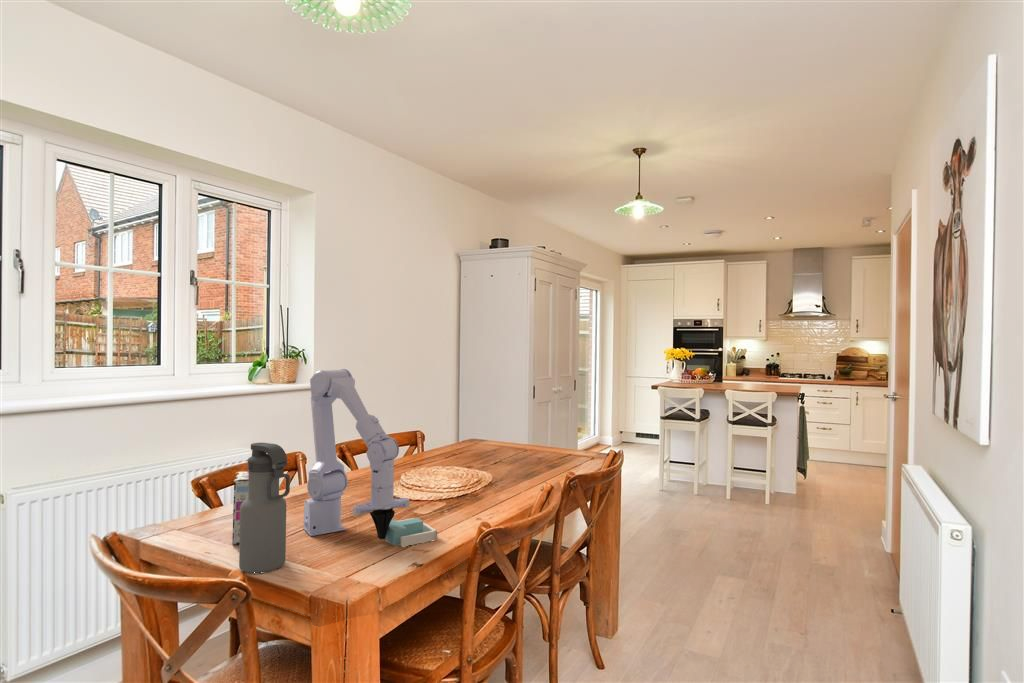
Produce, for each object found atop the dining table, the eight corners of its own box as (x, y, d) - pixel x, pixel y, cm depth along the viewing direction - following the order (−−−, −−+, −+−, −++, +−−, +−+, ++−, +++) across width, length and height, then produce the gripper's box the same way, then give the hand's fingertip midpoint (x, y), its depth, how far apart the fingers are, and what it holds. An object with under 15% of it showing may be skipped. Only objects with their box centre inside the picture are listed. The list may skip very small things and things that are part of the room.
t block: (393, 546, 145) (394, 530, 145) (380, 536, 152) (380, 521, 152) (427, 539, 150) (427, 524, 150) (413, 529, 157) (413, 515, 157)
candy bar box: (253, 543, 145) (254, 479, 145) (231, 545, 143) (232, 480, 143) (256, 529, 156) (257, 469, 156) (236, 531, 154) (237, 471, 154)
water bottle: (296, 562, 133) (297, 443, 133) (262, 578, 124) (264, 450, 124) (263, 555, 137) (265, 439, 137) (229, 570, 128) (231, 446, 128)
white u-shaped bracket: (401, 547, 144) (401, 537, 144) (381, 532, 154) (382, 523, 154) (437, 540, 149) (437, 530, 149) (415, 526, 160) (415, 517, 160)
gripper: (360, 493, 140) (359, 548, 140) (414, 485, 148) (413, 537, 148) (351, 486, 146) (350, 539, 146) (403, 479, 154) (402, 529, 154)
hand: (381, 538), depth 147 cm, fingers closed
